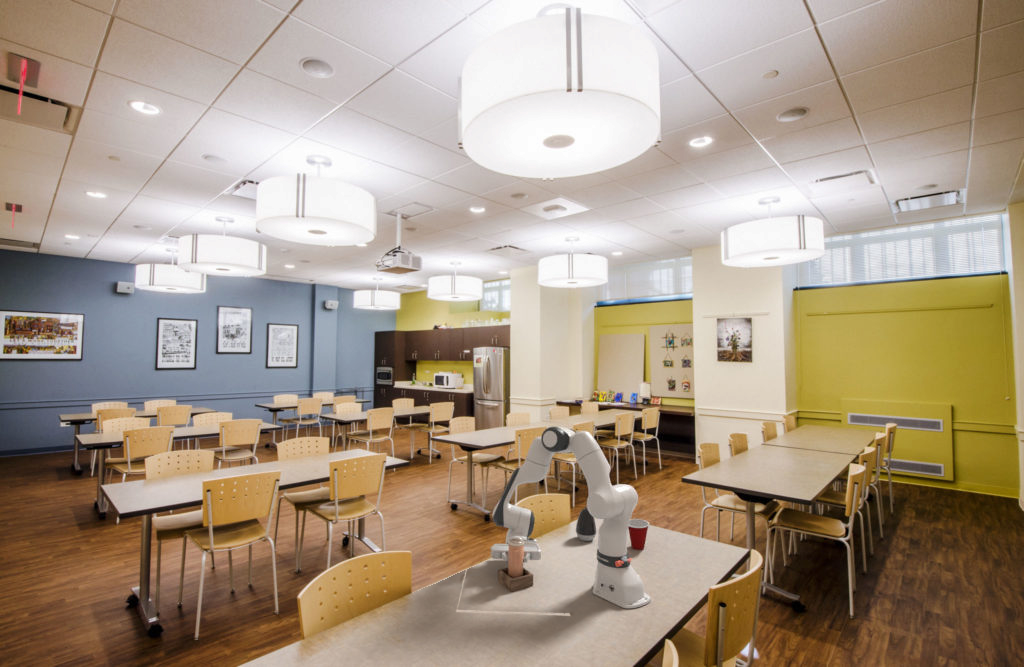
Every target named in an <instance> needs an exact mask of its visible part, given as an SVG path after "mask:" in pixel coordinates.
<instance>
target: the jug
mask: <svg viewBox="0 0 1024 667" xmlns="http://www.w3.org/2000/svg"><path fill="white" fill-rule="evenodd" d="M524 563H525V562H524V540H522V539H518V538H514V539H510V540H509V553H508V562H507V568H508V576H509V577H511V578H512V579H513V578H517V577H521V576H523V568H524Z"/></svg>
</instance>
